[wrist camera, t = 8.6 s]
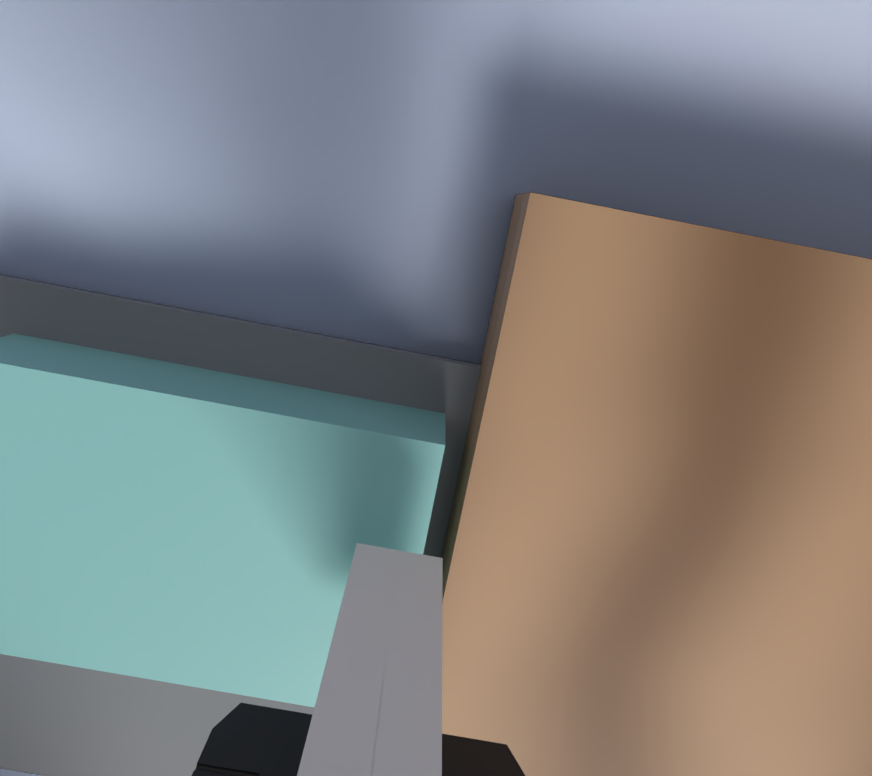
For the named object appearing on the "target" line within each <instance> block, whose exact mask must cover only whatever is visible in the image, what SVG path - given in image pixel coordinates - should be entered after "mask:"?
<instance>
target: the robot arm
mask: <svg viewBox="0 0 872 776" xmlns="http://www.w3.org/2000/svg"><path fill="white" fill-rule="evenodd" d="M442 584H443V558H439V557H434V556H428V555H422V554H417V553H411V552H405V551H400V550H394V549H388V548H383V547H377V546H372V545H366V544H360V543H357V544H356V548H355V552H354V556H353V559H352V563H351V567H350V571H349V575H348V579H347V583H346V587H345V591H344V594H343V598H342V602H341V606H340V610H339V614H338V618H337V622H336V626H335V630H334V633H333V637H332V641H331V645H330V649H329V653H328V657H327V661H326V665H325V668H324V672H323V676H322V680H321V684H320V688H319V692H318V696H317V700H316V703H315V707H314V711H313V715H312V714H306V713H300V712H294V711H288V710H282V709H277V708H271V707H265V706H259V705H253V704H247V703H240V704H239V705H238V706H236V707H235V708H234V709H233V710H232V711H231V712H230V713H229V714H228V715H227V716H225V717H224V718H223V719H222V720H221V721H220V722H219V723H218V724H217V725H216V726H215V727H213V728H212V730H211V733H210V735H209V737H208V739H207V742H206V744H205V746H204V748H203V751H202V753H201V755H200V757H199V760H198V762H197V766H196V769H195V770H194V771H193V773H192V776H525V774H524V773H523V771H522V769H521V767H520V766H519V764H518V762H517V761H516V759H515V757H514V756H513V754H512V752H511V751H510V749H509V747H508V746H507V744H501V743H495V742H489V741H483V740H478V739H472V738H466V737H460V736H454V735H448V734H442Z"/></svg>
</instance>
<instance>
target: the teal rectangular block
mask: <svg viewBox="0 0 872 776" xmlns="http://www.w3.org/2000/svg"><path fill="white" fill-rule="evenodd" d="M444 449H445V413H440V412H434V411H429V410H424V409H418V408H413V407H407V406H402V405H397V404H391V403H386V402H381V401H375V400H370V399H364V398H359V397H354V396H348V395H343V394H337V393H332V392H327V391H321V390H316V389H310V388H305V387H300V386H294V385H289V384H284V383H278V382H273V381H267V380H262V379H257V378H251V377H246V376H240V375H235V374H230V373H224V372H219V371H214V370H208V369H203V368H197V367H192V366H187V365H181V364H176V363H170V362H165V361H160V360H154V359H149V358H143V357H138V356H133V355H127V354H122V353H117V352H111V351H106V350H100V349H95V348H90V347H84V346H79V345H73V344H68V343H63V342H57V341H52V340H47V339H41V338H36V337H30V336H25V335H20V334H10V335H7V336H4V337H0V654H4V655H10V656H16V657H21V658H27V659H33V660H39V661H45V662H51V663H57V664H62V665H68V666H74V667H80V668H86V669H92V670H98V671H104V672H109V673H115V674H121V675H127V676H133V677H139V678H145V679H150V680H156V681H162V682H168V683H174V684H180V685H186V686H192V687H197V688H203V689H209V690H215V691H221V692H227V693H233V694H238V695H244V696H250V697H256V698H262V699H268V700H274V701H279V702H285V703H291V704H297V705H303V706H309V707H315V703H316V700H317V696H318V692H319V688H320V684H321V680H322V676H323V672H324V668H325V665H326V661H327V657H328V653H329V649H330V645H331V641H332V637H333V633H334V630H335V626H336V622H337V618H338V614H339V610H340V606H341V602H342V598H343V594H344V591H345V587H346V583H347V579H348V575H349V571H350V567H351V563H352V559H353V556H354V552H355V548H356V544H357V543H360V544H366V545H372V546H377V547H383V548H388V549H394V550H400V551H405V552H411V553H417V554H422V555H423V553H424V548H425V543H426V538H427V533H428V528H429V523H430V518H431V513H432V508H433V503H434V498H435V494H436V489H437V484H438V479H439V474H440V469H441V464H442V459H443V454H444Z"/></svg>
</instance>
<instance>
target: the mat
mask: <svg viewBox="0 0 872 776" xmlns="http://www.w3.org/2000/svg"><path fill="white" fill-rule="evenodd" d="M10 334H20V335H25V336H30V337H36V338H41V339H47V340H52V341H57V342H63V343H68V344H73V345H79V346H84V347H90V348H95V349H100V350H106V351H111V352H117V353H122V354H127V355H133V356H138V357H143V358H149V359H154V360H160V361H165V362H170V363H176V364H181V365H187V366H192V367H197V368H203V369H208V370H214V371H219V372H224V373H230V374H235V375H240V376H246V377H251V378H257V379H262V380H267V381H273V382H278V383H284V384H289V385H294V386H300V387H305V388H310V389H316V390H321V391H327V392H332V393H337V394H343V395H348V396H354V397H359V398H364V399H370V400H375V401H381V402H386V403H391V404H397V405H402V406H407V407H413V408H418V409H424V410H429V411H434V412H440V413H445V449H444V454H443V459H442V464H441V469H440V474H439V479H438V484H437V489H436V494H435V498H434V503H433V508H432V513H431V518H430V523H429V528H428V533H427V538H426V543H425V548H424V553H423V555H428V556H434V557H439V558H441V555H442V551H443V546H444V541H445V536H446V532H447V527H448V522H449V517H450V513H451V508H452V503H453V498H454V493H455V489H456V484H457V479H458V474H459V470H460V465H461V460H462V455H463V451H464V446H465V441H466V436H467V432H468V427H469V422H470V417H471V413H472V408H473V403H474V398H475V393H476V389H477V384H478V379H479V374H480V370H481V366H480V365H479V364H474V363H469V362H463V361H458V360H453V359H447V358H442V357H437V356H431V355H426V354H421V353H415V352H410V351H405V350H399V349H394V348H389V347H383V346H378V345H373V344H367V343H362V342H357V341H351V340H346V339H341V338H335V337H330V336H325V335H319V334H314V333H309V332H303V331H298V330H293V329H287V328H282V327H277V326H271V325H266V324H261V323H255V322H250V321H245V320H239V319H234V318H229V317H223V316H218V315H213V314H207V313H202V312H197V311H191V310H186V309H181V308H175V307H170V306H165V305H159V304H154V303H149V302H143V301H138V300H133V299H127V298H122V297H117V296H111V295H106V294H101V293H95V292H90V291H85V290H79V289H74V288H69V287H63V286H58V285H53V284H47V283H42V282H37V281H31V280H26V279H21V278H15V277H10V276H5V275H0V337H4V336H7V335H10ZM240 703H247V704H253V705H259V706H265V707H271V708H277V709H282V710H288V711H294V712H300V713H306V714H312V715H313V711H314V707H309V706H303V705H297V704H291V703H285V702H279V701H274V700H268V699H262V698H256V697H250V696H244V695H238V694H233V693H227V692H221V691H215V690H209V689H203V688H197V687H192V686H186V685H180V684H174V683H168V682H162V681H156V680H150V679H145V678H139V677H133V676H127V675H121V674H115V673H109V672H104V671H98V670H92V669H86V668H80V667H74V666H68V665H62V664H57V663H51V662H45V661H39V660H33V659H27V658H21V657H16V656H10V655H4V654H0V768H1V769H7V770H13V771H19V772H25V773H31V774H38V775H44V776H192V773H193V771H194V770H195V769H196V766H197V762H198V760H199V757H200V755H201V753H202V751H203V748H204V746H205V744H206V742H207V739H208V737H209V735H210V733H211V730H212V728H213V727H215V726H216V725H217V724H218V723H219V722H220V721H221V720H222V719H223V718H224V717H225V716H227V715H228V714H229V713H230V712H231V711H232V710H233V709H234V708H235V707H236V706H238V705H239V704H240Z"/></svg>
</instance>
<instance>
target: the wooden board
mask: <svg viewBox="0 0 872 776" xmlns="http://www.w3.org/2000/svg"><path fill="white" fill-rule="evenodd" d="M480 366H481V370H480V374H479V379H478V384H477V389H476V393H475V398H474V403H473V408H472V413H471V417H470V422H469V427H468V432H467V436H466V441H465V446H464V451H463V455H462V460H461V465H460V470H459V474H458V479H457V484H456V489H455V493H454V498H453V503H452V508H451V513H450V517H449V522H448V527H447V532H446V536H445V541H444V546H443V551H442V555H441V558H443V584H442V734H448V735H454V736H460V737H466V738H472V739H478V740H483V741H489V742H495V743H501V744H507V746H508V747H509V749H510V751H511V752H512V754H513V756H514V757H515V759H516V761H517V762H518V764H519V766H520V767H521V769H522V771H523V773H524V774H525V776H872V259H867V258H862V257H857V256H852V255H847V254H842V253H837V252H832V251H827V250H822V249H816V248H811V247H806V246H801V245H796V244H791V243H786V242H781V241H776V240H771V239H765V238H760V237H755V236H750V235H745V234H740V233H735V232H730V231H725V230H720V229H714V228H709V227H704V226H699V225H694V224H689V223H684V222H679V221H674V220H669V219H664V218H658V217H653V216H648V215H643V214H638V213H633V212H628V211H623V210H618V209H613V208H607V207H602V206H597V205H592V204H587V203H582V202H577V201H572V200H567V199H562V198H556V197H551V196H546V195H541V194H536V193H531V192H530V193H522V194H516V196H515V201H514V206H513V210H512V215H511V220H510V225H509V230H508V234H507V239H506V244H505V249H504V253H503V258H502V263H501V268H500V273H499V277H498V282H497V287H496V292H495V296H494V301H493V306H492V311H491V315H490V320H489V325H488V330H487V335H486V339H485V344H484V349H483V354H482V358H481V363H480Z"/></svg>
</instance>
